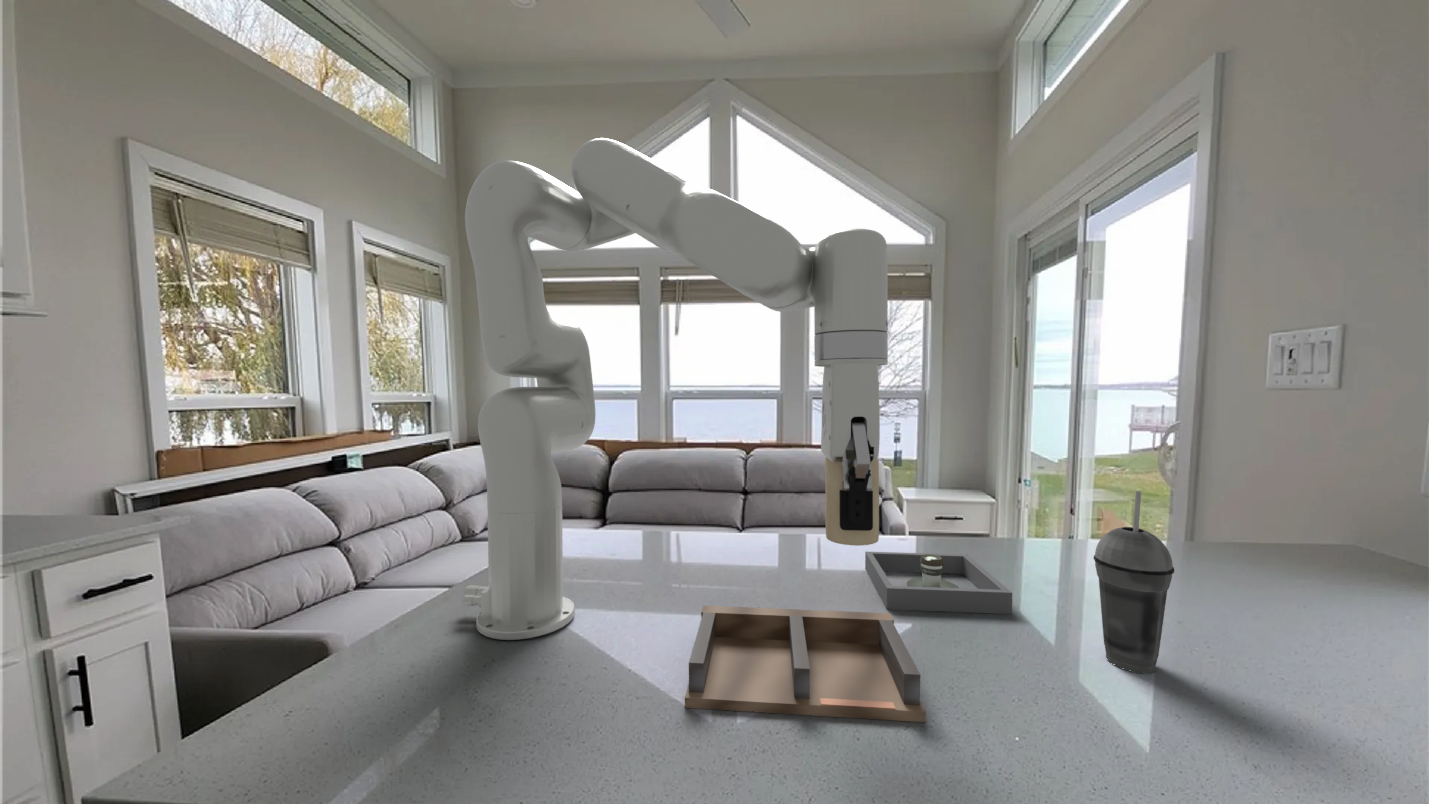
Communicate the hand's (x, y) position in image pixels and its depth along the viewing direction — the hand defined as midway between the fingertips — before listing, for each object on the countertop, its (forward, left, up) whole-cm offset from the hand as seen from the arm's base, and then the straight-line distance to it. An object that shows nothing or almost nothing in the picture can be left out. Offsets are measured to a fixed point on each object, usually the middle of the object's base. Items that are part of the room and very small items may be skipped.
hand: (851, 520), depth 57 cm
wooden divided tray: (-6, +1, -17) cm, 18 cm away
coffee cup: (+17, +28, -17) cm, 37 cm away
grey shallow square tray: (+16, +28, -17) cm, 37 cm away
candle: (0, 0, -2) cm, 2 cm away
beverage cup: (+32, +7, -18) cm, 38 cm away
